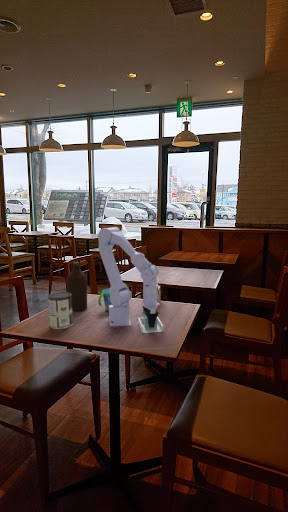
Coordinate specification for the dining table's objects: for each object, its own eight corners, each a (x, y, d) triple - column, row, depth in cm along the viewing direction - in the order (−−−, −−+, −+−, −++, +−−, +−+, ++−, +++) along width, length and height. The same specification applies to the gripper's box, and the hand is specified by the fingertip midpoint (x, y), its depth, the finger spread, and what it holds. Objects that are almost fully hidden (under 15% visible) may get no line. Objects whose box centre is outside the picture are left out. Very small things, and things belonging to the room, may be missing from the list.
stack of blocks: (149, 301, 178) (149, 280, 176) (160, 301, 177) (160, 280, 175) (143, 313, 157) (142, 289, 155) (155, 313, 156) (155, 289, 154)
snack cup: (102, 314, 155) (102, 294, 154) (95, 309, 165) (94, 290, 163) (130, 309, 163) (130, 290, 162) (121, 304, 172) (121, 286, 171)
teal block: (145, 330, 133) (145, 318, 133) (143, 325, 138) (143, 314, 137) (157, 329, 134) (157, 318, 133) (155, 325, 139) (154, 314, 138)
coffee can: (62, 319, 149) (61, 290, 147) (77, 323, 143) (76, 293, 141) (44, 326, 141) (43, 295, 139) (60, 331, 135) (58, 299, 133)
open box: (141, 334, 130) (141, 327, 130) (138, 324, 142) (138, 317, 141) (163, 332, 131) (163, 325, 131) (157, 322, 143) (157, 316, 143)
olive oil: (92, 309, 165) (90, 262, 161) (74, 313, 158) (72, 264, 154) (81, 304, 173) (79, 260, 169) (64, 309, 166) (61, 262, 162)
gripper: (162, 298, 127) (162, 329, 129) (156, 289, 142) (156, 318, 143) (145, 298, 126) (145, 331, 128) (140, 290, 141) (141, 319, 143)
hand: (150, 324), depth 136 cm, fingers open, 6 cm apart
